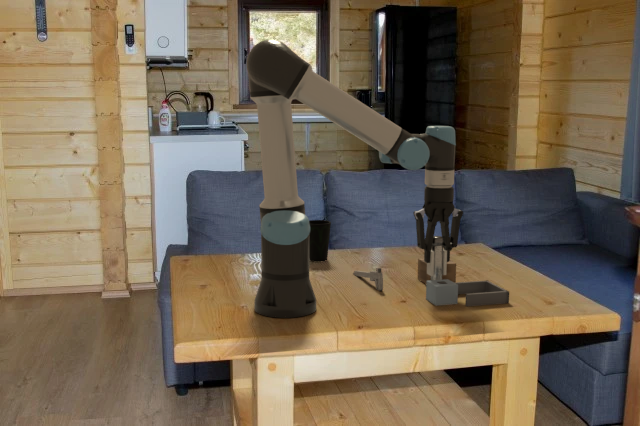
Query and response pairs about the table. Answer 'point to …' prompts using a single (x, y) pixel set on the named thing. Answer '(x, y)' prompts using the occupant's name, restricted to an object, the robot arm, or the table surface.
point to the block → (441, 292)
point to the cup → (319, 240)
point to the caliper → (372, 277)
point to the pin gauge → (437, 257)
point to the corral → (477, 296)
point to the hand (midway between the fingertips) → (436, 274)
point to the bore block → (449, 274)
